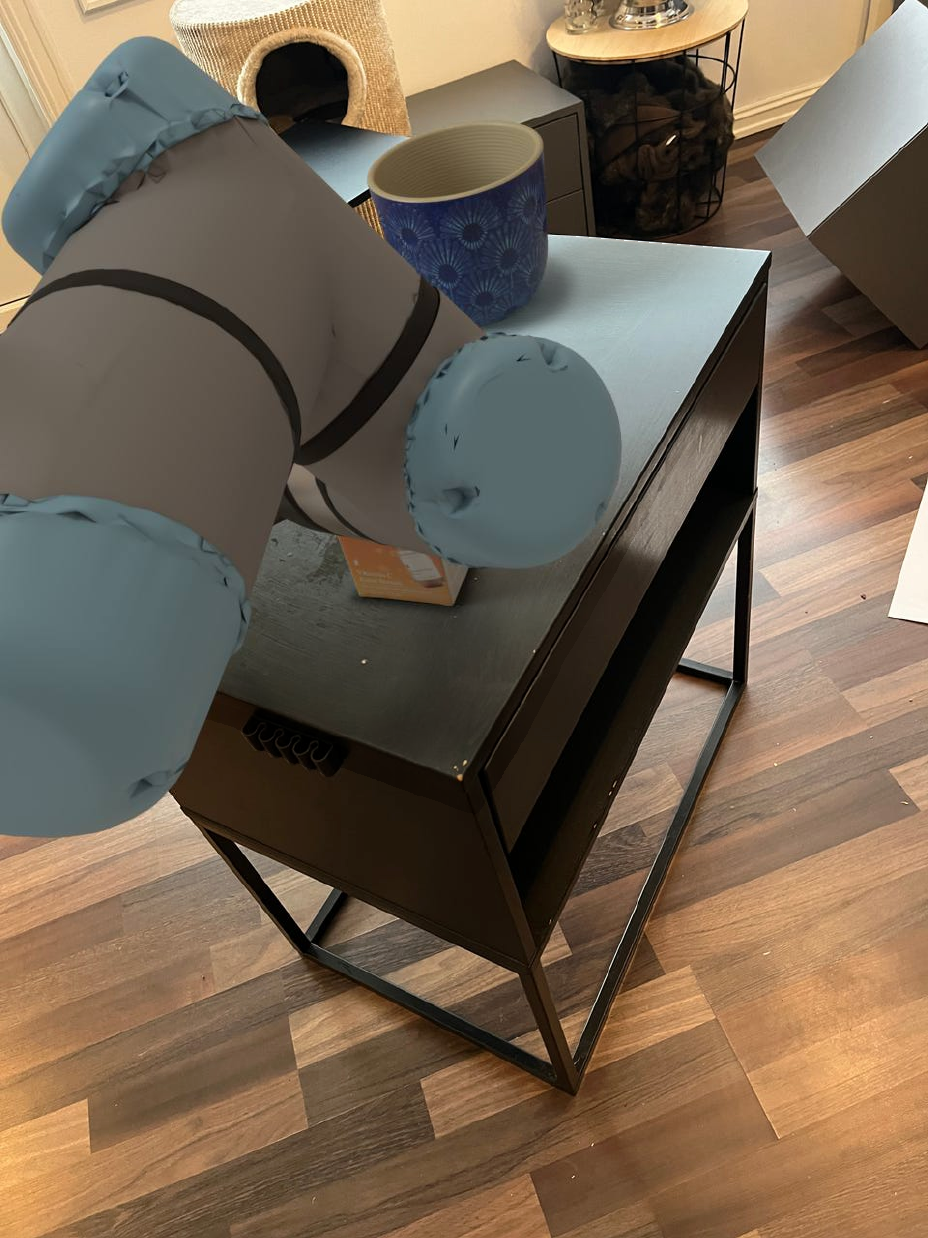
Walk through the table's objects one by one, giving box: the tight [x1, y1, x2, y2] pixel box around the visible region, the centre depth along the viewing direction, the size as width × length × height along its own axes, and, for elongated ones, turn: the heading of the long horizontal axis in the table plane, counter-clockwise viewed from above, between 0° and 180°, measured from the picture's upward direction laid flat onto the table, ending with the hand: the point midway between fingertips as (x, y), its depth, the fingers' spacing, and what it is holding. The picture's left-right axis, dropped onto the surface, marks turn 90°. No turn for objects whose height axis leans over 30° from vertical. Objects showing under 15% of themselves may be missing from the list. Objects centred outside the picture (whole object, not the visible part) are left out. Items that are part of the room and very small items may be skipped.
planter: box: [366, 119, 549, 327], centre depth 93 cm, size 17×17×15 cm
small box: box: [337, 535, 469, 607], centre depth 69 cm, size 8×6×10 cm
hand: (233, 453), depth 60 cm, fingers open, 13 cm apart
